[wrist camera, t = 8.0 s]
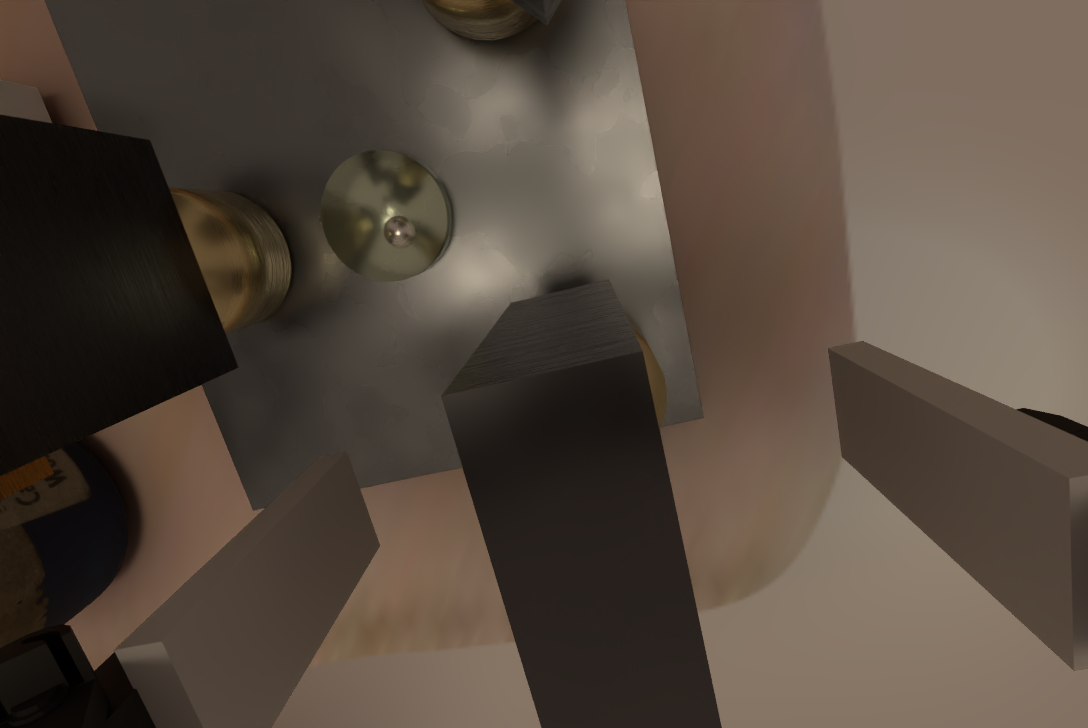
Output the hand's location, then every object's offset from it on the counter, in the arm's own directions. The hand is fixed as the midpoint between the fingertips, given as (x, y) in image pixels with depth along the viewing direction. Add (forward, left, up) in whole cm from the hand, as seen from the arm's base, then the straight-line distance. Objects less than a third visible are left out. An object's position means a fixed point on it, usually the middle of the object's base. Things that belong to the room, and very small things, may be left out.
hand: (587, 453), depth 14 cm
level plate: (-7, -6, -9) cm, 13 cm away
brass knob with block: (0, 0, -8) cm, 8 cm away
